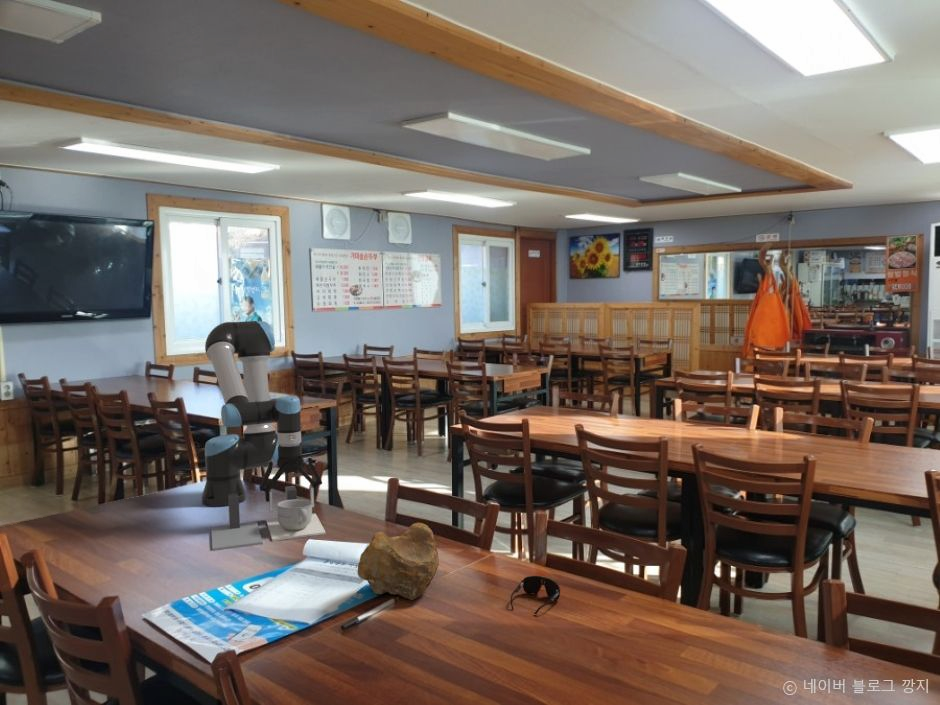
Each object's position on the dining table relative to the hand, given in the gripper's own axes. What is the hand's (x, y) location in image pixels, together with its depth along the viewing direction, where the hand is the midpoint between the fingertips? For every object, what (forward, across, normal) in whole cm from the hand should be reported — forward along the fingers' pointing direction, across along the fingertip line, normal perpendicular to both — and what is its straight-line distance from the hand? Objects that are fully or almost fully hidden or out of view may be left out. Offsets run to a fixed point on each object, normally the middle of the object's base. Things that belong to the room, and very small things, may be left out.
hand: (291, 508), depth 230 cm
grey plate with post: (+4, 0, -7) cm, 8 cm away
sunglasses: (+5, +46, -86) cm, 97 cm away
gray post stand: (+4, -18, -8) cm, 20 cm away
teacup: (+4, 0, -11) cm, 11 cm away
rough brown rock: (+5, +20, -66) cm, 70 cm away
